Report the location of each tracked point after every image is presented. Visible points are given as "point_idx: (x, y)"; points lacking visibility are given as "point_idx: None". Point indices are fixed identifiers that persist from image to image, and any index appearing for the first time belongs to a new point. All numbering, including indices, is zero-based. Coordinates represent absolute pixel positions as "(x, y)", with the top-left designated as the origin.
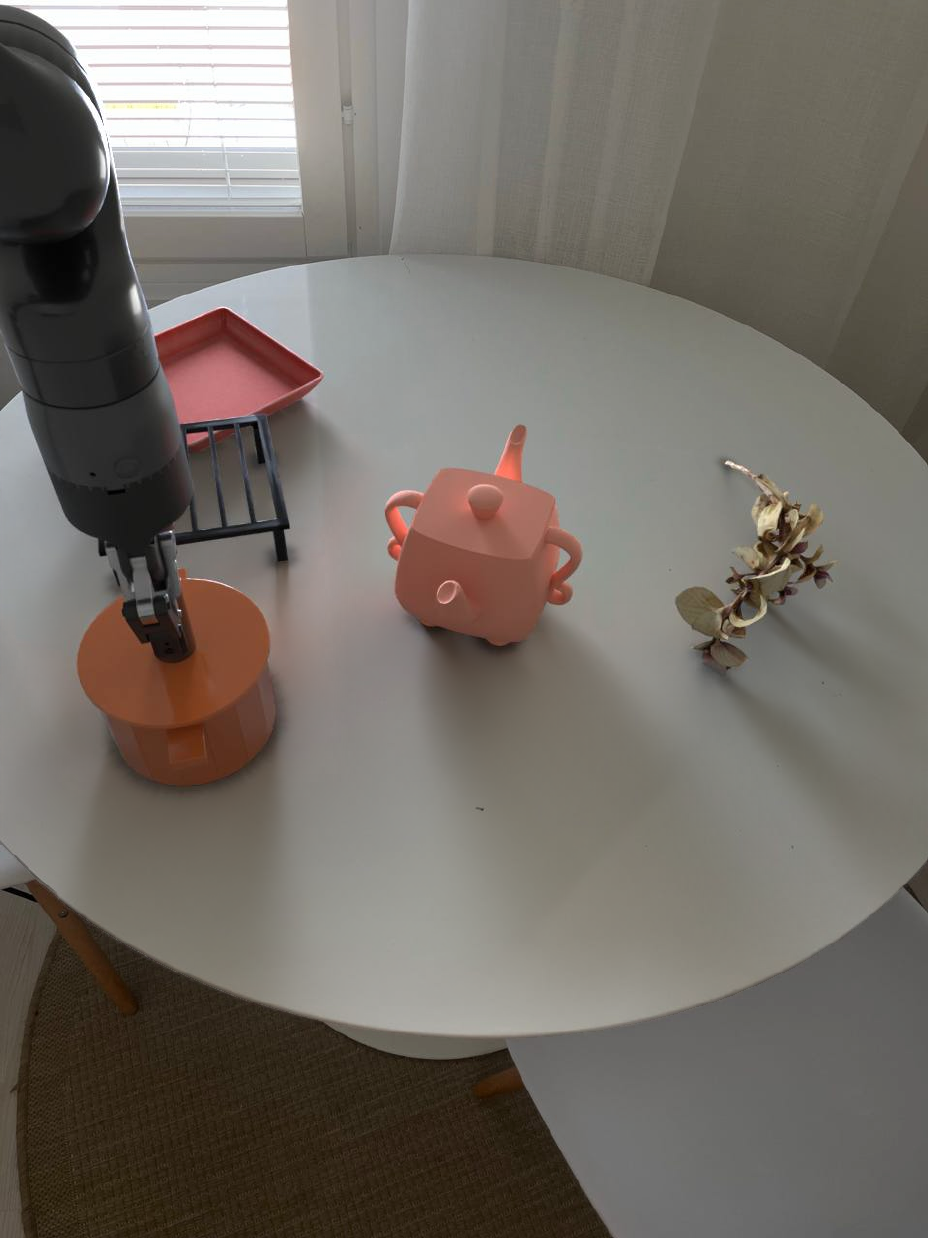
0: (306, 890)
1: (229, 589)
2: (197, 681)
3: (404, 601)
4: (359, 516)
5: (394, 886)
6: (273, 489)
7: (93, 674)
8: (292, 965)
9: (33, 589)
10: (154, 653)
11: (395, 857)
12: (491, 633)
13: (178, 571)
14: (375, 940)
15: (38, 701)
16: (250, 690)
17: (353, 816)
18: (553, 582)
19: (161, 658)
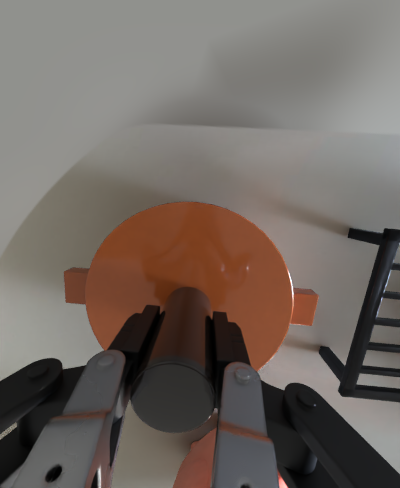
0: (52, 302)
1: None
2: None
3: None
4: (340, 407)
5: (45, 345)
6: (395, 395)
7: (174, 219)
8: (9, 284)
9: (381, 155)
10: (145, 307)
11: (63, 351)
12: (183, 466)
13: (309, 318)
14: (16, 328)
15: (250, 151)
16: None
17: (94, 337)
18: None
19: (135, 313)
